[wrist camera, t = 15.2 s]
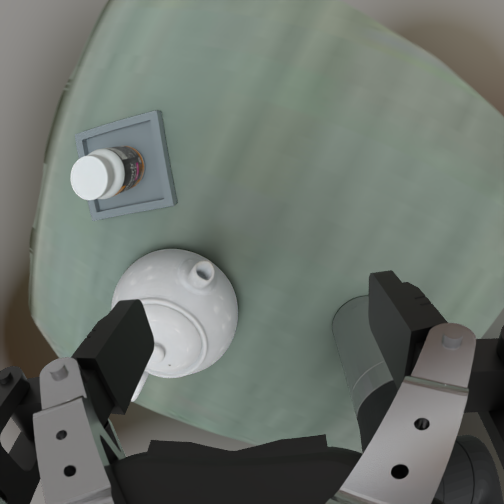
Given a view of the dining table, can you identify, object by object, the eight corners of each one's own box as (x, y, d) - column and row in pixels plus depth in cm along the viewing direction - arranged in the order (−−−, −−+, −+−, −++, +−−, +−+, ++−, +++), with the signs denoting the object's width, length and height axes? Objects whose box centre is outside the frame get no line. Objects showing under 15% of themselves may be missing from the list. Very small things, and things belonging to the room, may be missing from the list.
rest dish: (177, 202, 40) (173, 205, 39) (98, 217, 41) (92, 220, 40) (161, 111, 36) (156, 110, 35) (81, 134, 37) (74, 134, 36)
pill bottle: (137, 195, 40) (103, 214, 30) (101, 179, 39) (60, 194, 30) (152, 154, 38) (119, 162, 28) (115, 138, 37) (74, 143, 28)
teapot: (103, 253, 43) (53, 297, 31) (225, 226, 41) (207, 269, 29) (146, 357, 50) (118, 415, 37) (255, 344, 48) (252, 411, 35)
